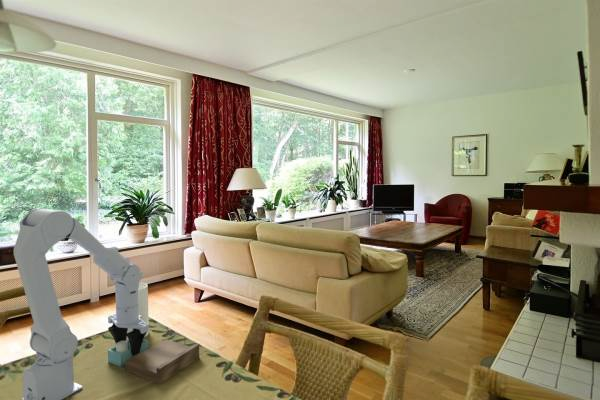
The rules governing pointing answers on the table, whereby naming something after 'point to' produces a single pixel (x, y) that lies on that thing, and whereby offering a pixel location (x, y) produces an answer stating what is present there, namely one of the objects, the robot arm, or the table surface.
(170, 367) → the brown flat block
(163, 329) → the table surface
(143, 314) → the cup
